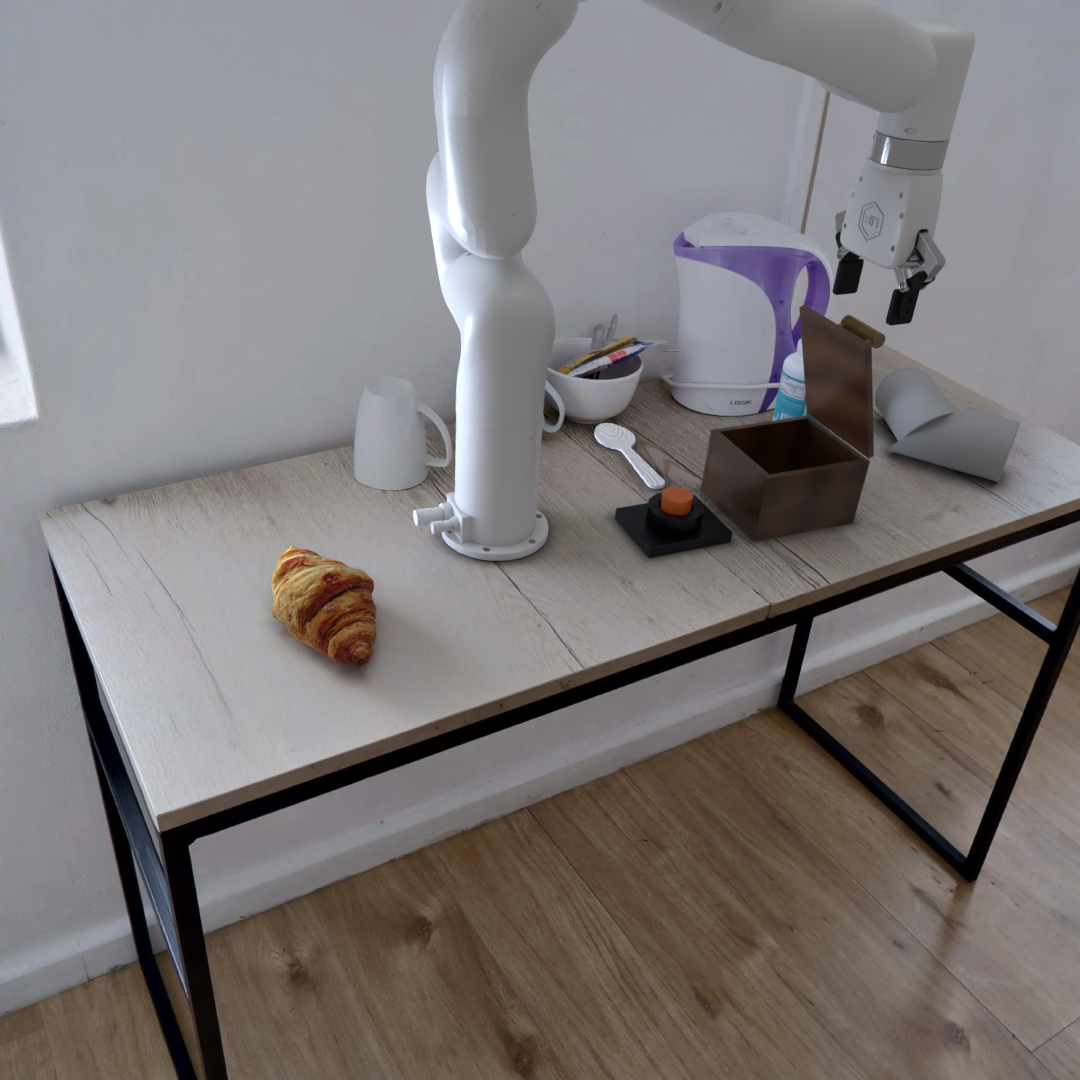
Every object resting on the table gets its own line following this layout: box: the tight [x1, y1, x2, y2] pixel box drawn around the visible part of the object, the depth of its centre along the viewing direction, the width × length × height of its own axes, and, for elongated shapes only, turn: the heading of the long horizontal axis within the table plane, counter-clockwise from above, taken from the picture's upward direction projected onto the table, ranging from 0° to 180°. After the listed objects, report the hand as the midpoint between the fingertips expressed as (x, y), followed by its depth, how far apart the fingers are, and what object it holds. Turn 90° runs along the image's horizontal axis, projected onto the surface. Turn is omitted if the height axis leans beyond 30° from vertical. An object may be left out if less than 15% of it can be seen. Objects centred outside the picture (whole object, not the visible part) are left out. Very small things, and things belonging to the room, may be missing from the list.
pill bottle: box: [771, 337, 826, 428], centre depth 142 cm, size 8×7×14 cm
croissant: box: [271, 545, 377, 668], centre depth 102 cm, size 21×10×8 cm, turn 32°
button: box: [660, 486, 694, 516], centre depth 119 cm, size 4×4×2 cm
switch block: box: [614, 492, 733, 559], centre depth 120 cm, size 11×9×4 cm
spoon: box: [594, 422, 666, 490], centre depth 136 cm, size 5×18×1 cm, turn 21°
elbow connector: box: [874, 366, 1021, 483], centre depth 141 cm, size 18×10×20 cm
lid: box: [798, 304, 886, 460], centre depth 120 cm, size 15×13×5 cm
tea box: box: [700, 415, 871, 543], centre depth 125 cm, size 15×13×9 cm
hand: (870, 307), depth 116 cm, fingers open, 9 cm apart
